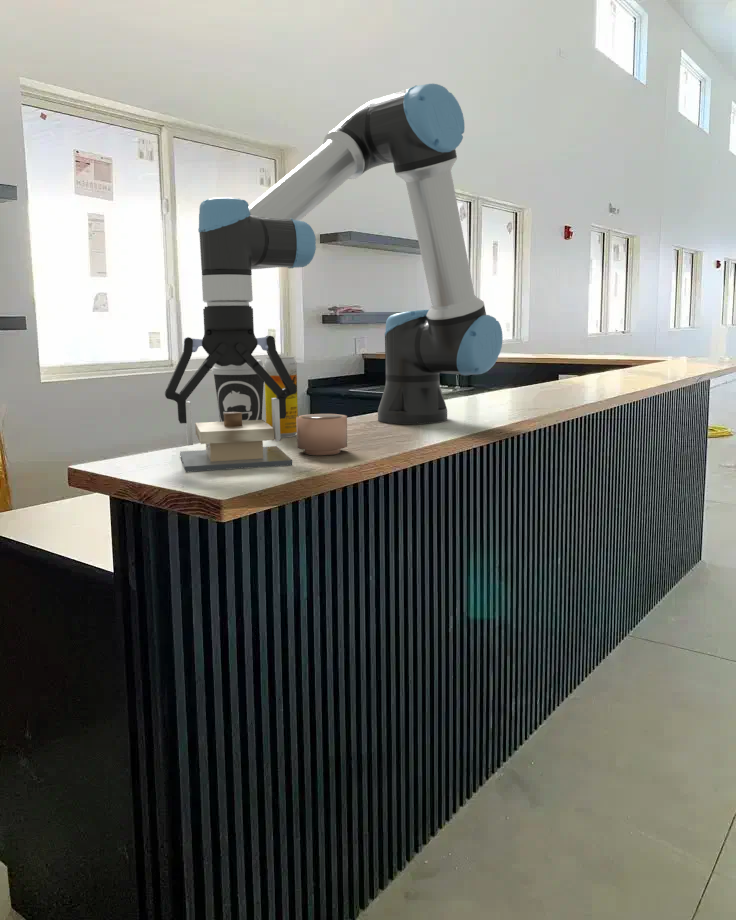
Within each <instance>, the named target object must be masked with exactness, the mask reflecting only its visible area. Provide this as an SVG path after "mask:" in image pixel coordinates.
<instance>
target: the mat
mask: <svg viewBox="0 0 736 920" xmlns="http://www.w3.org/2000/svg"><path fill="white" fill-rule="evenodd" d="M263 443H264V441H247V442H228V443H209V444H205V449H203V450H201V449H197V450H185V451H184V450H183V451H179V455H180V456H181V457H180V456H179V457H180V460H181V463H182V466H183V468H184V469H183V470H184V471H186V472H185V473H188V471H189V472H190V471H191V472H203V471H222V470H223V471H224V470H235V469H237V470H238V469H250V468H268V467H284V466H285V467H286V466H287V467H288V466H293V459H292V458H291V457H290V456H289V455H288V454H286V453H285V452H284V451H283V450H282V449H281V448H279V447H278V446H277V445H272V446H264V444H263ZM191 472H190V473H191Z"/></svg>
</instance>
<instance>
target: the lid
mask: <svg viewBox="0 0 736 920" xmlns="http://www.w3.org/2000/svg"><path fill="white" fill-rule="evenodd" d="M194 426H195V428H194V429H195V435H196V438H198V441H199V443H200V445H206V444H209V443H228V442H247V441H263V442H265V441H275V440H274V428H273V427H271V426H270V425H269V424H268V423H266V420H264V419H262V420H247V421H242V412H226V413H224V422H220V421H210V422H209V421H208V422H194Z"/></svg>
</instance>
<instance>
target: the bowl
mask: <svg viewBox="0 0 736 920" xmlns="http://www.w3.org/2000/svg"><path fill="white" fill-rule="evenodd" d="M296 423H297V433H296V447H297V449H300V450H303V451H304V454H305V455H310V456H329V455H330V456H331V455H333V456H334V455H337V454H340V453H341V449H345V448H347V447H348V415H346V414H337V413H314V414H313V413H311V414H310V413H309V414H301V415H298V416H297V417H296Z"/></svg>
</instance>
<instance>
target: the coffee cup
mask: <svg viewBox="0 0 736 920" xmlns="http://www.w3.org/2000/svg"><path fill="white" fill-rule="evenodd" d="M256 360H257V361H258V363H259V364H260V365H261V366H262V367H263V368H264V370H265V371H266V368H265V366H264V362H263V361H262V360H261V359H256ZM210 371H211V372H210V374H211V375H213V378H214V379H213V380H214V384H215V386H214V387H215V393H216V398H217V399H216V400H217V408H218V415H219V422H224V413H226V412H242V421H247V420H263V404H264V403H263V402H264V401H263V400H264V397H263V396H264V388H265V382H264V381H263V380H262V379H261V378H260V377H259V376H258V375H257V374H256V373H255V371H254V370H253V369H252V368H251V367H250V366H249V365H248V364H247V363H245V364H243V365H241V366H235V365H228V366H220V365H217V364H216V363H215V364H214V366H213V367H212V368H211V370H210ZM266 372H267V371H266Z"/></svg>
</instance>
